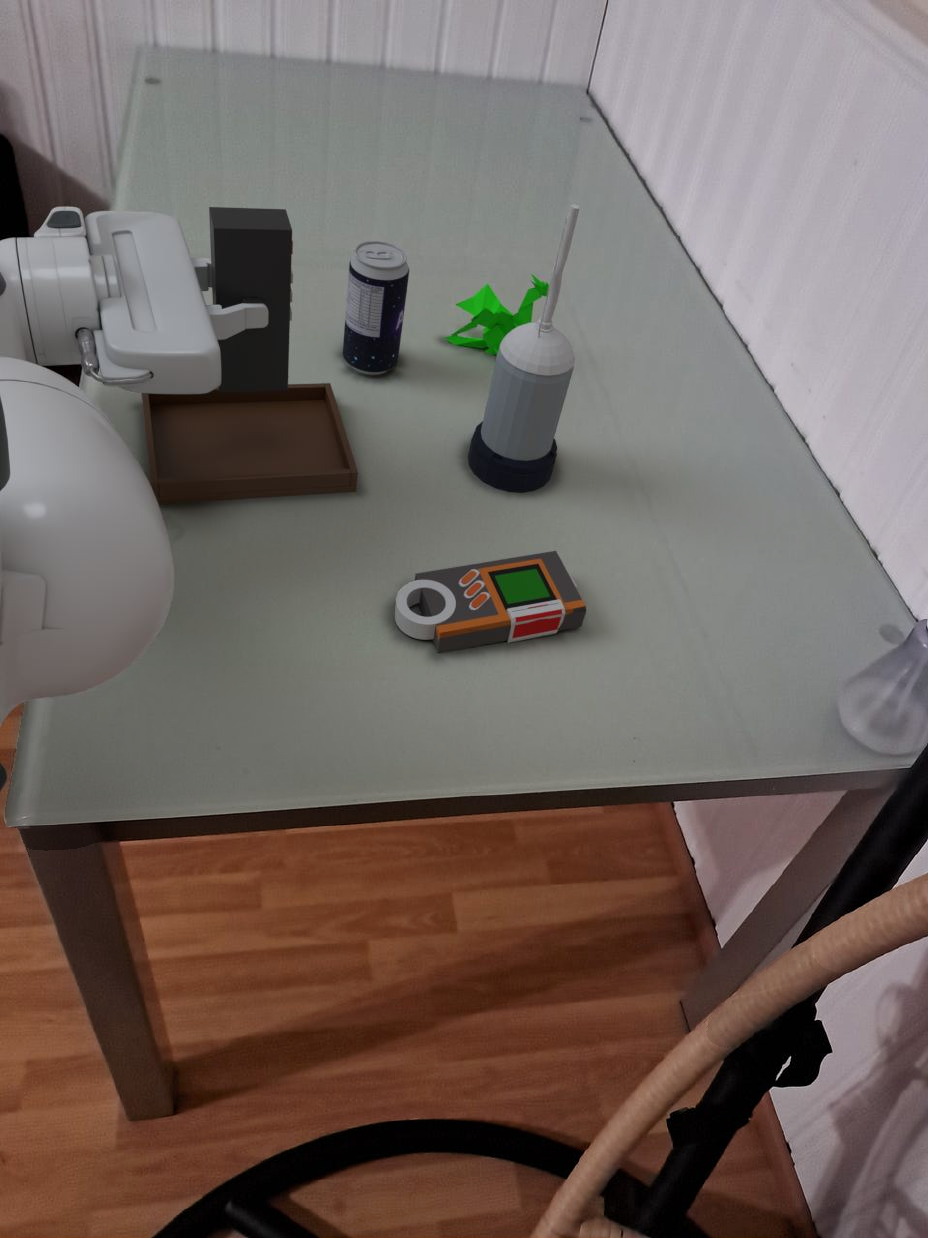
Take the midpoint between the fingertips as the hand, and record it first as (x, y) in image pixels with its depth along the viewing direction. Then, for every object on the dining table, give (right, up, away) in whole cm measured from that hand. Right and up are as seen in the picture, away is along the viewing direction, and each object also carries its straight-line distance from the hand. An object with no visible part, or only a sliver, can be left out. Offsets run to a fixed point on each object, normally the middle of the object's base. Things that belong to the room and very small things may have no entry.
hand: (260, 295), depth 74 cm
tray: (-4, -10, +11) cm, 16 cm away
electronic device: (+17, -25, +3) cm, 31 cm away
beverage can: (+6, +1, +24) cm, 25 cm away
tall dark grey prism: (-2, -5, +5) cm, 8 cm away
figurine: (+19, +4, +29) cm, 35 cm away
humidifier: (+20, -11, +16) cm, 28 cm away
